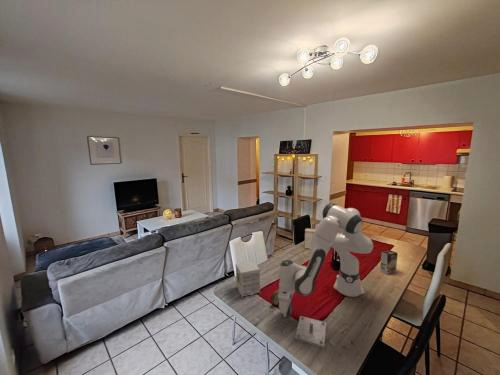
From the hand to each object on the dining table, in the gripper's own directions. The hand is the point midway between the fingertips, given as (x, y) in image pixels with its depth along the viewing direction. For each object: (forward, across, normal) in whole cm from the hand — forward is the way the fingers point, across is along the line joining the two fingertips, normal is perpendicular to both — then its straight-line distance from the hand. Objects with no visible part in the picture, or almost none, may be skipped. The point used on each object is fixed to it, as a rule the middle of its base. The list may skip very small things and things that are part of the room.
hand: (286, 310), depth 129 cm
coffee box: (+2, -72, +63) cm, 96 cm away
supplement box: (+2, -13, -30) cm, 33 cm away
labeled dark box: (+2, 0, 0) cm, 2 cm away
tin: (+2, -9, -6) cm, 11 cm away
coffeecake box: (+2, -96, +4) cm, 96 cm away
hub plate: (+2, +9, +15) cm, 17 cm away
